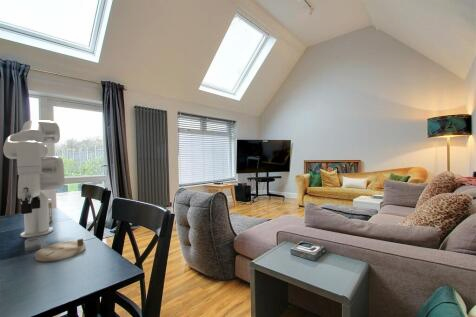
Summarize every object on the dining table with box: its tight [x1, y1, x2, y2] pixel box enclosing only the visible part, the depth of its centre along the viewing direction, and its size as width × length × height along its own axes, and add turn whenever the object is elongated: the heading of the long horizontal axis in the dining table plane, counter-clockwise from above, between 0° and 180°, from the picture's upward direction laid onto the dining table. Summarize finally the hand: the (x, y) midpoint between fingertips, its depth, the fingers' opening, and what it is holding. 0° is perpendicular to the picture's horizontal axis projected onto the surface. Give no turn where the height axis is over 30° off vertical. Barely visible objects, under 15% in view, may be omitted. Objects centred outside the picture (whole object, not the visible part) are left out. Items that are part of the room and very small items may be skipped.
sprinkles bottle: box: [48, 198, 53, 222], centre depth 137 cm, size 5×5×13 cm
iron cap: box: [24, 236, 42, 253], centre depth 97 cm, size 5×5×5 cm
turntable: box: [34, 238, 86, 262], centre depth 93 cm, size 16×16×4 cm
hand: (31, 210), depth 96 cm, fingers open, 9 cm apart
